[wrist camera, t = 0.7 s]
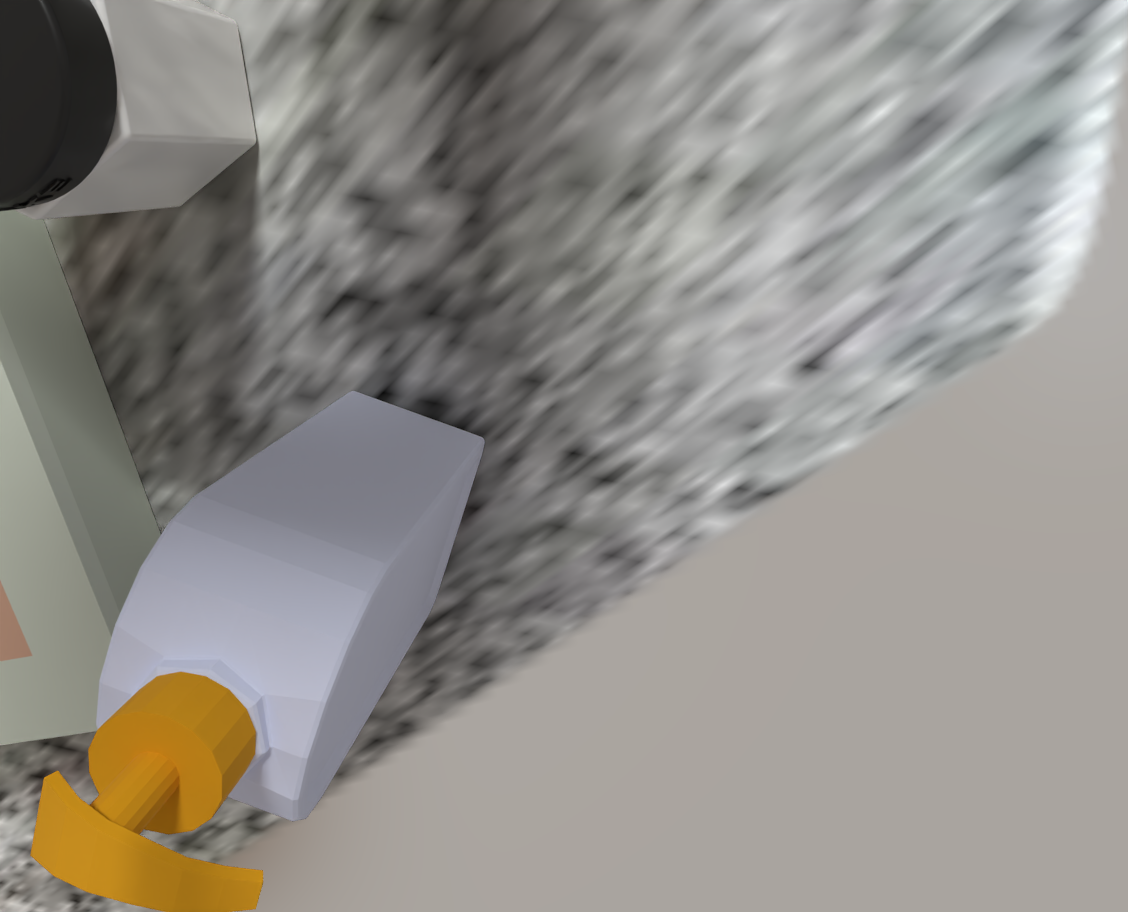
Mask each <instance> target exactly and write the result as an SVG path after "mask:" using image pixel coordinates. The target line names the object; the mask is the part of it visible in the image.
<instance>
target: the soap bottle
mask: <svg viewBox="0 0 1128 912" xmlns="http://www.w3.org/2000/svg"><path fill="white" fill-rule="evenodd" d="M484 444H485V441H484V439H483V437H480V436H478V435H475V434H472V433H469V432H467V431H464V430H461V429H458V428H456V427H453V426H450V425H447V424H444V423H442V422H439V421H436V420H433V419H431V418H428V417H425V416H422V415H419V414H417V413H414V412H411V411H408V410H406V409H403V408H400V407H397V406H395V405H392V404H389V403H386V402H383V401H381V400H378V399H375V398H372V397H370V396H367V395H364V394H361V393H359V392H356V391H351V392H348V393H347V394H346V395H344V396H343V397H341V398H340V399H338V400H337V401H335V402H334V403H332V404H331V405H329V406H328V407H326V408H325V409H323V410H322V411H320V412H319V413H317V414H316V415H314V416H313V417H311V418H310V419H308V420H307V421H305V422H304V423H302V424H301V425H299V426H298V427H296V428H295V429H293V430H292V431H290V432H289V433H287V434H286V435H284V436H283V437H281V438H280V439H278V440H277V441H275V442H274V443H272V444H271V445H269V446H268V447H266V448H265V449H264V450H262V451H261V452H259V453H258V454H256V455H255V456H253V457H252V458H250V459H249V460H247V461H246V462H244V463H243V464H241V465H240V466H238V467H237V468H235V469H234V470H232V471H231V472H229V473H228V474H226V475H225V476H223V477H222V478H220V479H219V480H217V481H216V482H214V483H213V484H211V485H210V486H208V487H207V488H205V489H204V490H202V491H201V492H199V493H198V494H196V495H195V496H194V497H193V498H192V499H191V500H190V501H189V502H188V503H187V504H186V505H185V506H184V507H183V508H182V509H181V510H180V511H179V512H178V513H177V514H176V515H175V516H174V517H173V518H172V519H171V520H170V521H169V523H168V524H167V526H166V528H165V529H164V531H163V532H162V534H161V536H160V537H159V539H158V540H157V542H156V543H155V545H154V547H153V548H152V550H151V551H150V553H149V555H148V556H147V558H146V559H145V561H144V563H143V564H142V566H141V567H140V569H139V572H138V574H137V576H136V578H135V581H134V583H133V585H132V588H131V590H130V592H129V594H128V597H127V599H126V601H125V603H124V606H123V608H122V610H121V612H120V615H119V617H118V619H117V622H116V624H115V627H114V630H113V634H112V638H111V641H110V645H109V648H108V652H107V655H106V659H105V662H104V666H103V670H102V673H101V677H100V680H99V692H98V705H97V718H96V725H97V728H98V730H97V732H96V734H95V736H94V738H93V740H92V743H91V745H90V747H89V749H88V752H89V773H90V775H91V778H92V780H93V782H94V784H95V786H96V788H97V791H98V793H99V796H98V797H97V798H96V799H95V800H94V801H93V802H92V803H91V804H90V805H88V804H87V803H85V802H84V801H83V800H82V799H80V798H79V797H78V796H77V795H76V793H75V792H74V791H73V789H72V788H71V787H70V786H69V784H68V783H67V782H66V780H65V779H64V778H63V777H62V775H61V774H60V773H59V771H56V772H54V773H52V774H50V775H48V776H46V777H44V780H43V786H42V792H41V798H40V803H39V809H38V815H37V821H36V826H35V832H34V838H33V844H32V849H31V855H30V856H32V857H33V858H34V859H35V860H36V861H37V862H38V863H39V864H41V865H42V866H43V867H44V868H45V869H46V870H47V871H49V872H50V873H51V874H52V875H53V876H55V877H57V878H59V879H61V880H63V881H65V882H67V883H69V884H71V885H73V886H75V887H77V888H80V889H82V890H84V891H86V892H89V893H93V894H96V895H100V896H103V897H107V898H110V899H114V900H117V901H121V902H125V903H128V904H132V905H136V906H141V907H146V908H150V909H155V910H160V911H164V912H232V911H242V910H252V909H256V906H257V902H258V899H259V895H260V892H261V888H262V885H263V870H255V869H246V868H238V867H230V866H223V865H219V864H215V863H210V862H206V861H201V860H197V859H193V858H188V857H186V856H183V855H181V854H179V853H177V852H175V851H173V850H170V849H168V848H166V847H164V846H162V845H160V844H157V843H155V842H153V841H151V840H149V839H147V838H145V837H143V836H141V835H139V834H140V833H141V832H142V831H143V830H144V829H145V830H150V831H154V832H159V833H164V834H175V833H181V832H188V831H193V830H195V829H196V828H198V827H199V826H201V825H202V824H204V823H205V822H207V821H208V820H210V819H211V818H212V817H213V816H214V814H215V813H216V811H217V810H218V809H219V807H220V806H221V805H222V803H223V802H224V801H225V799H226V798H227V797H229V798H232V799H234V800H237V801H240V802H242V803H245V804H248V805H250V806H253V807H256V808H258V809H261V810H264V811H267V812H269V813H272V814H275V815H277V816H280V817H283V818H285V819H288V820H291V821H297V820H302V819H306V818H307V817H308V815H309V814H310V813H311V811H312V810H313V809H314V807H315V806H316V804H317V803H318V802H319V800H320V799H321V797H322V796H323V794H324V792H325V791H326V789H327V787H328V786H329V784H330V782H331V780H332V779H333V777H334V775H335V774H336V772H337V770H338V769H339V767H340V765H341V763H342V762H343V760H344V758H345V757H346V755H347V753H348V752H349V750H350V748H351V746H352V745H353V743H354V741H355V740H356V738H357V736H358V734H359V733H360V731H361V729H362V728H363V726H364V724H365V723H366V721H367V719H368V717H369V716H370V714H371V712H372V711H373V709H374V707H375V706H376V704H377V702H378V700H379V699H380V697H381V695H382V694H383V692H384V690H385V688H386V687H387V685H388V683H389V682H390V680H391V678H392V677H393V675H394V673H395V671H396V670H397V668H398V666H399V665H400V663H401V661H402V660H403V658H404V656H405V654H406V653H407V651H408V649H409V648H410V646H411V644H412V642H413V641H414V639H415V637H416V636H417V634H418V632H419V631H420V629H421V627H422V625H423V624H424V622H425V620H426V619H427V617H428V615H429V613H430V611H431V609H432V607H433V605H434V602H435V600H436V597H437V594H438V591H439V588H440V585H441V582H442V578H443V575H444V572H445V569H446V566H447V563H448V560H449V557H450V553H451V550H452V547H453V544H454V541H455V538H456V535H457V532H458V528H459V525H460V522H461V519H462V516H463V513H464V510H465V507H466V503H467V500H468V497H469V494H470V491H471V488H472V485H473V482H474V478H475V475H476V472H477V469H478V466H479V463H480V460H481V456H482V453H483V449H484Z"/></svg>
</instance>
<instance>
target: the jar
mask: <svg viewBox="0 0 1128 912" xmlns="http://www.w3.org/2000/svg"><path fill="white" fill-rule="evenodd" d="M255 143H256V133H255V127H254V121H253V115H252V109H251V103H250V97H249V91H248V85H247V79H246V73H245V67H244V61H243V55H242V49H241V43H240V37H239V31H238V26H237V23H236V22H235V21H234V20H233V19H231V18H229V17H227V16H225V15H223V14H221V13H219V12H217V11H215V10H213V9H211V8H209V7H207V6H205V5H203V4H201V3H199V2H197V1H195V0H0V211H8V210H15V211H17V212H19V213H21V214H23V215H25V216H27V217H29V218H31V219H34V220H42V219H53V218H63V217H74V216H85V215H96V214H107V213H118V212H128V211H139V210H150V209H161V208H172V207H179V206H181V205H182V204H184V203H185V202H186V201H187V200H188V199H190V198H191V197H192V196H193V195H194V194H196V193H197V192H198V191H199V190H200V189H202V188H203V187H204V186H205V185H206V184H208V183H209V182H210V181H211V180H213V179H214V178H215V177H216V176H217V175H219V174H220V173H221V172H222V171H223V170H225V169H226V168H227V167H228V166H229V165H231V164H232V163H233V162H234V161H235V160H237V159H238V158H239V157H240V156H241V155H243V154H244V153H245V152H246V151H248V150H249V149H250V148H251V147H252V146H254V145H255Z"/></svg>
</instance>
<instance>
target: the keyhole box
mask: <svg viewBox="0 0 1128 912" xmlns="http://www.w3.org/2000/svg"><path fill="white" fill-rule="evenodd" d="M160 536H161V533H160V531H159V528H158V525H157V523H156V520H155V517H154V515H153V512H152V509H151V506H150V504H149V501H148V498H147V496H146V493H145V490H144V488H143V485H142V482H141V480H140V477H139V474H138V472H137V469H136V466H135V464H134V461H133V458H132V456H131V453H130V450H129V448H128V445H127V442H126V440H125V437H124V434H123V432H122V429H121V426H120V424H119V421H118V418H117V416H116V413H115V410H114V408H113V405H112V402H111V400H110V397H109V394H108V392H107V389H106V386H105V383H104V381H103V378H102V375H101V373H100V370H99V367H98V365H97V362H96V359H95V357H94V354H93V351H92V349H91V346H90V343H89V341H88V338H87V335H86V333H85V330H84V327H83V325H82V322H81V319H80V317H79V314H78V311H77V309H76V306H75V303H74V301H73V298H72V295H71V293H70V290H69V287H68V285H67V282H66V279H65V277H64V274H63V271H62V269H61V266H60V263H59V260H58V258H57V255H56V252H55V250H54V247H53V244H52V242H51V239H50V236H49V234H48V231H47V228H46V226H45V223H44V220H43V219H42V220H34V219H31V218H29V217H27V216H25V215H23V214H21V213H19V212H17V211H15V210H8V211H0V745H7V744H14V743H21V742H27V741H34V740H41V739H48V738H54V737H61V736H68V735H75V734H81V733H88V732H95V731H97V730H98V728H97V725H96V718H97V705H98V692H99V680H100V677H101V673H102V670H103V666H104V662H105V659H106V655H107V652H108V648H109V645H110V641H111V638H112V634H113V630H114V627H115V624H116V622H117V619H118V617H119V615H120V612H121V610H122V608H123V606H124V603H125V601H126V599H127V597H128V594H129V592H130V590H131V588H132V585H133V583H134V581H135V578H136V576H137V574H138V572H139V569H140V567H141V566H142V564H143V563H144V561H145V559H146V558H147V556H148V555H149V553H150V551H151V550H152V548H153V547H154V545H155V543H156V542H157V540H158V539H159V537H160Z"/></svg>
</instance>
